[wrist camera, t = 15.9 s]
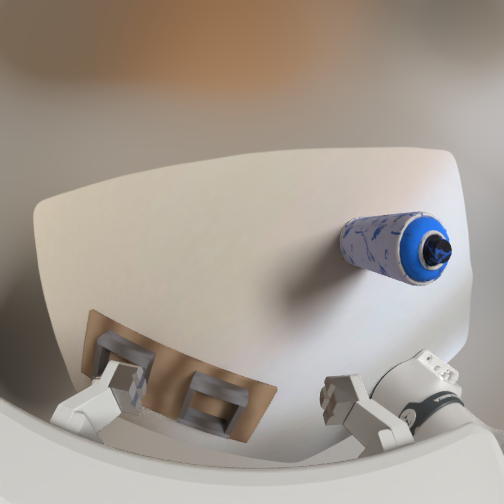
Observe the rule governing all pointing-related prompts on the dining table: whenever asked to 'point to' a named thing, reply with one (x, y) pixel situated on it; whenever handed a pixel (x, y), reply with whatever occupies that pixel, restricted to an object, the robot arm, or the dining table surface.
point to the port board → (179, 381)
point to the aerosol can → (398, 246)
